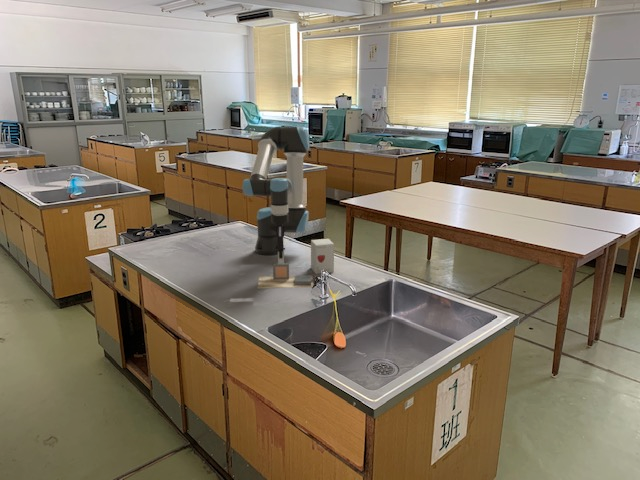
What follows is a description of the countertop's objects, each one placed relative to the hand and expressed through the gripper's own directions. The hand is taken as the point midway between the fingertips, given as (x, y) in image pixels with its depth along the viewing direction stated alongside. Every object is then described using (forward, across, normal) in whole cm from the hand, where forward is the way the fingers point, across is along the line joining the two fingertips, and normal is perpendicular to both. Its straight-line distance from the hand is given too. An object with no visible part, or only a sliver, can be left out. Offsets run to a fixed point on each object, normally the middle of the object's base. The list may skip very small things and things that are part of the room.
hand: (281, 264), depth 222 cm
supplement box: (+6, -5, +19) cm, 21 cm away
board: (+6, +9, +2) cm, 11 cm away
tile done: (+5, +10, +10) cm, 15 cm away
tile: (+5, +6, 0) cm, 8 cm away
